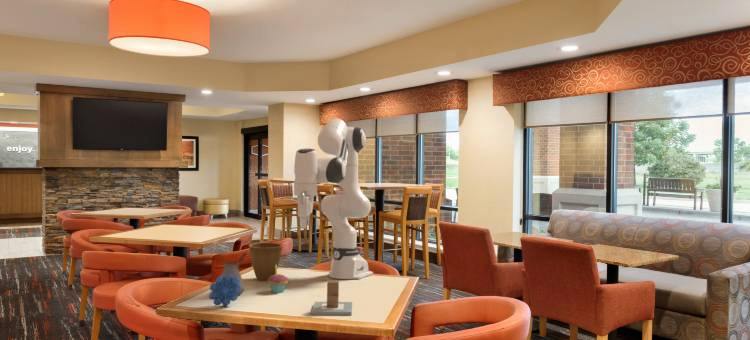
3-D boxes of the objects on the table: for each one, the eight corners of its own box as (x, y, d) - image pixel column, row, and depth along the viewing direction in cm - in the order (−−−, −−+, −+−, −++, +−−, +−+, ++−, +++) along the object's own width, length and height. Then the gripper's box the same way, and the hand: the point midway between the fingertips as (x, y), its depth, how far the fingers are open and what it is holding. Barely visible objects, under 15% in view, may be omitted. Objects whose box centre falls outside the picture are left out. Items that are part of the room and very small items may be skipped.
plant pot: (242, 279, 249) (243, 244, 249) (270, 275, 259) (271, 241, 259) (259, 284, 238) (259, 248, 238) (287, 280, 248) (288, 245, 248)
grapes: (242, 302, 206) (242, 271, 206) (240, 307, 199) (240, 274, 199) (210, 303, 204) (211, 271, 204) (207, 308, 198) (208, 275, 198)
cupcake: (283, 294, 220) (283, 265, 220) (263, 293, 222) (264, 263, 222) (290, 289, 229) (291, 261, 229) (271, 288, 231) (272, 260, 231)
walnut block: (327, 304, 200) (327, 280, 200) (338, 305, 200) (338, 280, 200) (326, 307, 196) (327, 282, 196) (338, 307, 196) (338, 283, 196)
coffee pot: (238, 298, 212) (238, 260, 212) (210, 297, 214) (211, 259, 214) (258, 287, 233) (259, 252, 233) (233, 285, 235) (234, 251, 235)
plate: (315, 304, 205) (315, 301, 205) (352, 305, 205) (352, 301, 205) (311, 314, 191) (311, 311, 191) (351, 315, 191) (351, 311, 191)
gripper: (311, 192, 197) (310, 230, 197) (316, 189, 217) (315, 224, 217) (293, 192, 197) (293, 230, 197) (300, 189, 217) (299, 224, 217)
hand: (305, 227), depth 207 cm, fingers open, 8 cm apart
